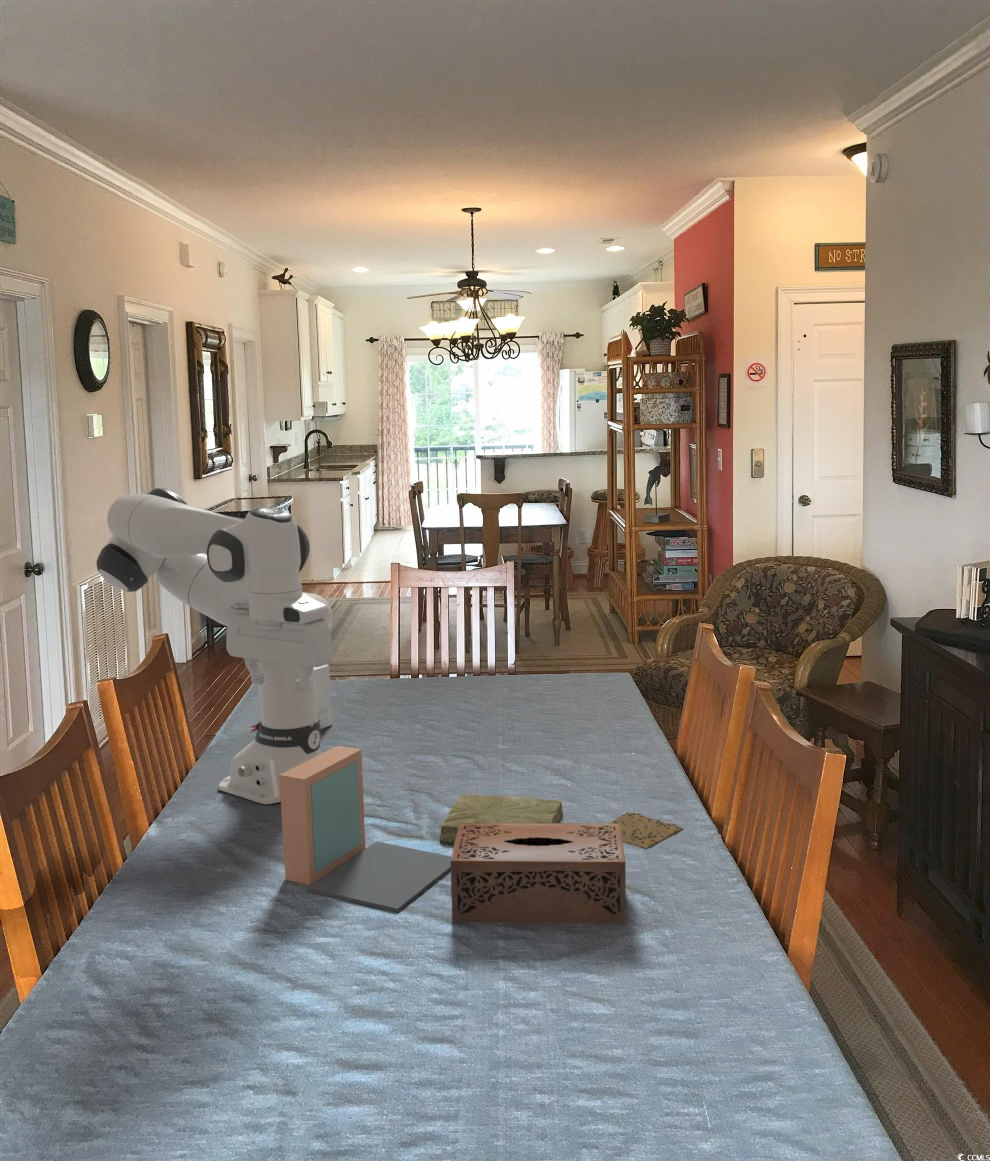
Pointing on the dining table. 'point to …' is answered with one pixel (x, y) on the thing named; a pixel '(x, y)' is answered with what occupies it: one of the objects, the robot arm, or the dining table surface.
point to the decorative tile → (498, 812)
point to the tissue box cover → (538, 873)
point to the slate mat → (384, 876)
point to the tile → (322, 814)
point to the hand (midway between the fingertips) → (279, 686)
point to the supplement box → (323, 695)
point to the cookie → (644, 830)
